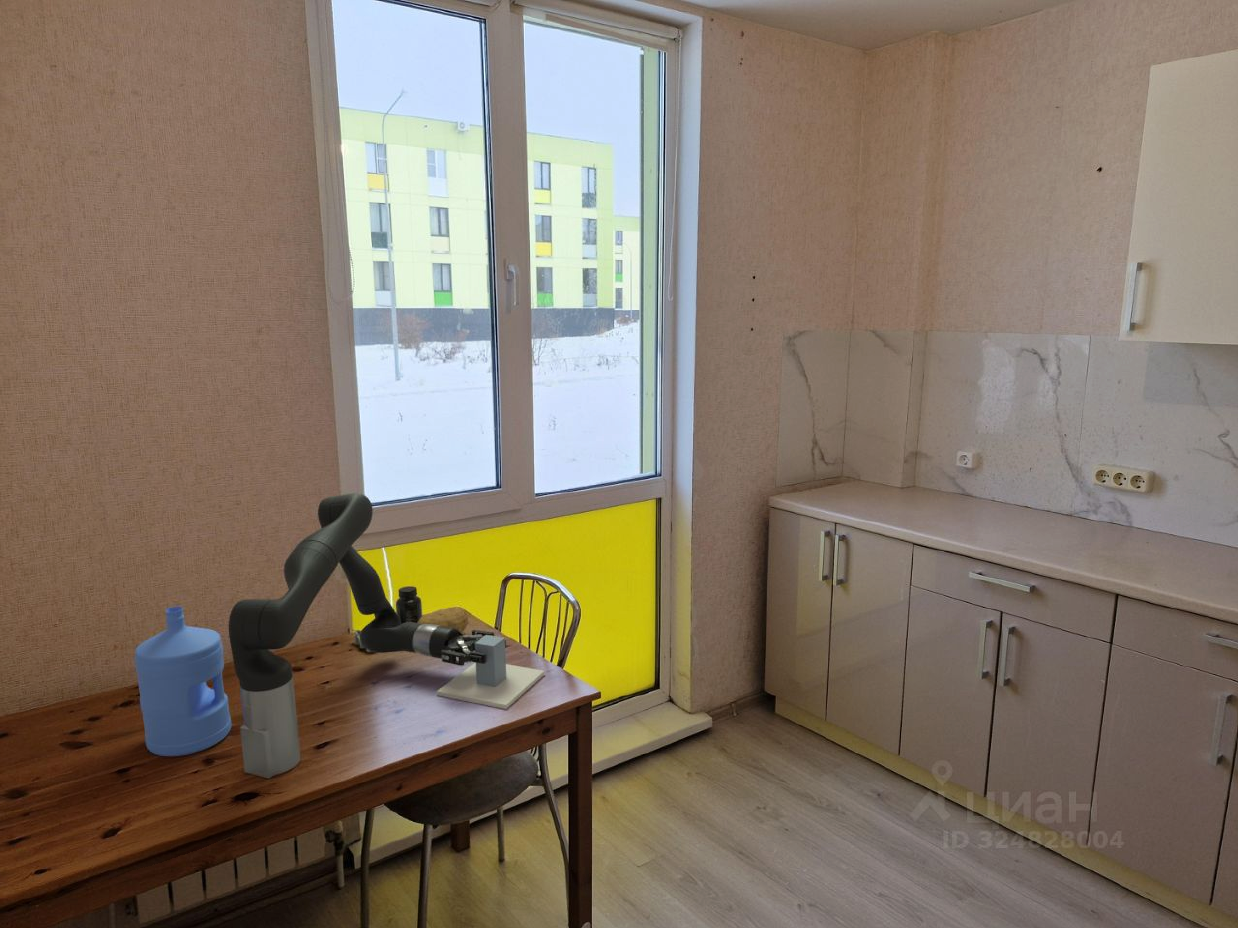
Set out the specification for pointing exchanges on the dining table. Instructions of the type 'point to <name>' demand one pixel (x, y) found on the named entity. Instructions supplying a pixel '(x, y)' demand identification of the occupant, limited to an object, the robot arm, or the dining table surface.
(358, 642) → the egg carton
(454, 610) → the potato
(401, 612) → the supplement bottle
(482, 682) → the slate block
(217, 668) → the water jug
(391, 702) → the dining table surface
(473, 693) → the cream tile
